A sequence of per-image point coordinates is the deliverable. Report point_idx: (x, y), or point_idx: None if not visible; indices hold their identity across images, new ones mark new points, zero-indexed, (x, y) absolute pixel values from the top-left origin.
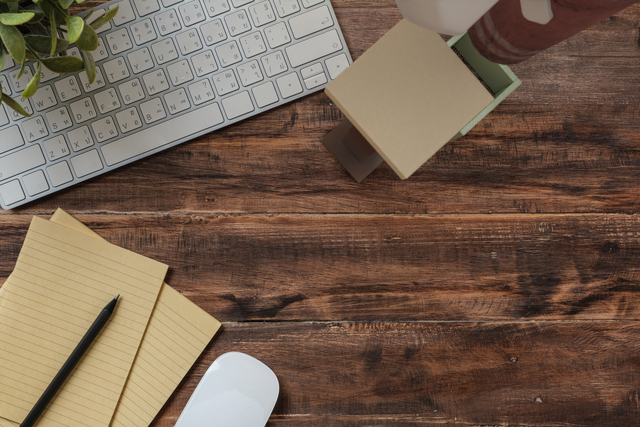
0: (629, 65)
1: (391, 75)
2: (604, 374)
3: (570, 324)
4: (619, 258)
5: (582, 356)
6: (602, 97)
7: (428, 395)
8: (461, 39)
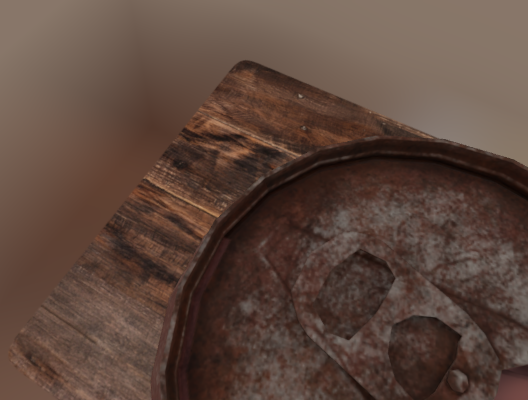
0: (51, 300)
1: None
2: (242, 89)
3: (246, 129)
4: (178, 153)
5: (251, 106)
6: (96, 284)
7: (384, 135)
8: None
